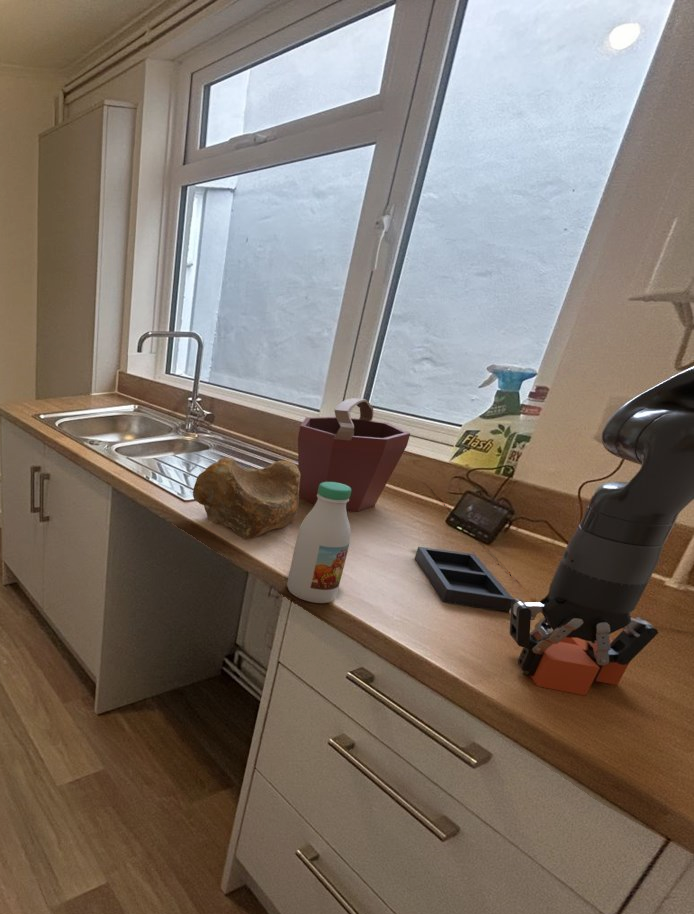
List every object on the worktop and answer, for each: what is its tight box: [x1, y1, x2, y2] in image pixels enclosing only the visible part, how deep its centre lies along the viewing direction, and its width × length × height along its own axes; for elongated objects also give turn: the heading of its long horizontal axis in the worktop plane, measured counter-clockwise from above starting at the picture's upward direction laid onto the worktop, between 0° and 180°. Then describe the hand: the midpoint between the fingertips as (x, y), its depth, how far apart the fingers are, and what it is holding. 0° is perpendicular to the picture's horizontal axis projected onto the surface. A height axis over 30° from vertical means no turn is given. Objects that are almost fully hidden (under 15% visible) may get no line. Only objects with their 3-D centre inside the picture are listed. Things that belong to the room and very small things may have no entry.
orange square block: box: [528, 642, 599, 696], centre depth 70 cm, size 5×5×4 cm
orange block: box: [560, 637, 631, 686], centre depth 72 cm, size 5×5×4 cm
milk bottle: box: [286, 482, 352, 604], centre depth 88 cm, size 8×8×20 cm
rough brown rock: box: [192, 457, 301, 540], centre depth 114 cm, size 23×17×15 cm
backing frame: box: [414, 546, 515, 613], centre depth 94 cm, size 9×17×2 cm, turn 159°
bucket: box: [297, 397, 411, 513], centre depth 129 cm, size 24×22×25 cm
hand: (552, 676), depth 71 cm, fingers closed on orange square block, 5 cm apart
